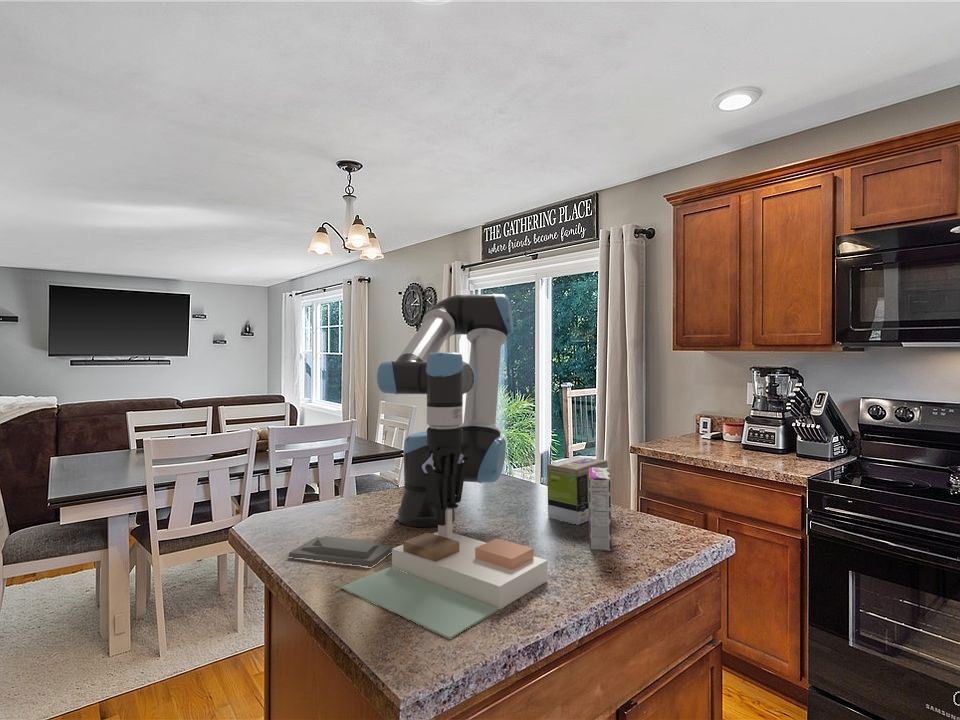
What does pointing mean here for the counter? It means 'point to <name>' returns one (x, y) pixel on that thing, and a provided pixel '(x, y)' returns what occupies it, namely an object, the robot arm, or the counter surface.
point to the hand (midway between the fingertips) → (445, 539)
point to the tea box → (570, 488)
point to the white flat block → (474, 573)
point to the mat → (421, 601)
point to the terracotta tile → (504, 553)
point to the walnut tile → (431, 546)
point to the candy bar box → (599, 509)
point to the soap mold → (342, 551)
